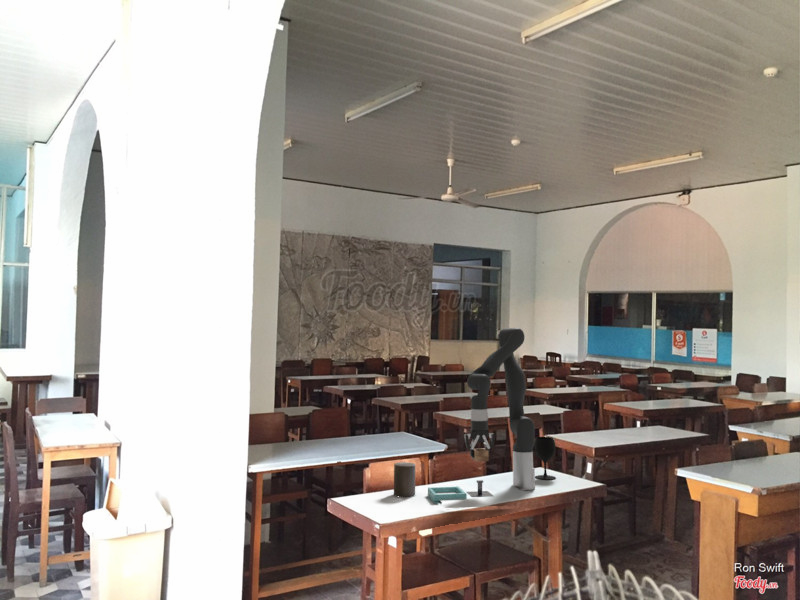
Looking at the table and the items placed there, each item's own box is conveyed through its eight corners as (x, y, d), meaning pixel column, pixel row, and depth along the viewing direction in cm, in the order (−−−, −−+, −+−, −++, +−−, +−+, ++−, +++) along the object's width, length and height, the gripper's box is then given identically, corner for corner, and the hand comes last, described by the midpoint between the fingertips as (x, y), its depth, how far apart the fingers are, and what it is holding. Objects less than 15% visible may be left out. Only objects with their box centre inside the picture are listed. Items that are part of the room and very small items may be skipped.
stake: (487, 494, 287) (487, 477, 287) (494, 499, 277) (494, 482, 277) (466, 495, 285) (465, 478, 285) (472, 500, 275) (472, 483, 276)
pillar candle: (395, 498, 280) (396, 463, 281) (391, 492, 289) (392, 459, 290) (417, 497, 282) (417, 462, 283) (412, 492, 291) (413, 458, 292)
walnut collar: (484, 458, 285) (484, 448, 286) (488, 460, 279) (488, 450, 280) (471, 459, 284) (471, 448, 285) (475, 461, 278) (475, 451, 279)
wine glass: (560, 478, 319) (559, 438, 321) (544, 481, 314) (544, 440, 316) (545, 475, 328) (545, 435, 330) (530, 477, 323) (530, 437, 324)
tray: (458, 494, 286) (458, 486, 287) (466, 502, 273) (466, 493, 273) (427, 495, 284) (427, 487, 284) (434, 503, 270) (434, 495, 271)
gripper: (492, 417, 288) (493, 455, 287) (461, 418, 286) (462, 456, 284) (497, 419, 281) (498, 458, 279) (465, 420, 278) (466, 459, 277)
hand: (479, 457), depth 282 cm, fingers closed on walnut collar, 6 cm apart
